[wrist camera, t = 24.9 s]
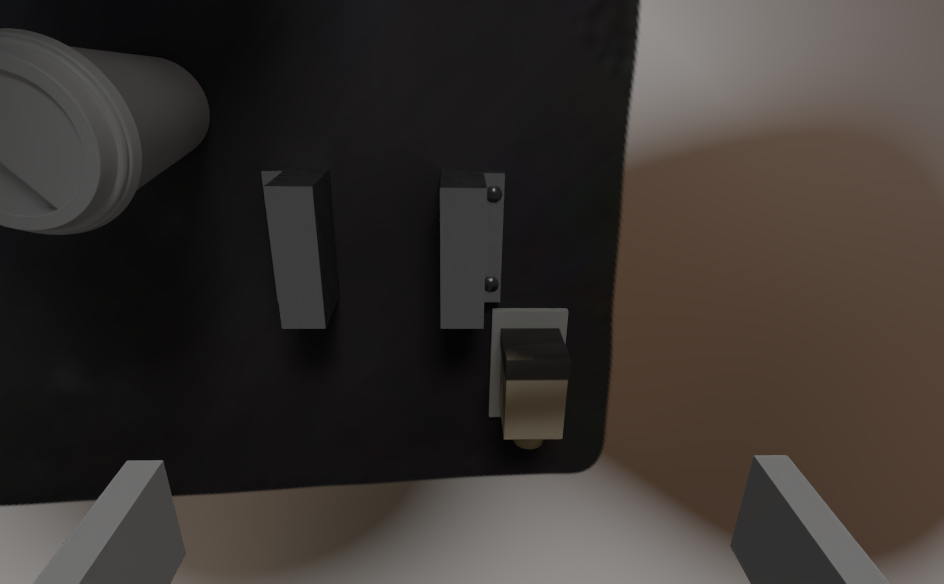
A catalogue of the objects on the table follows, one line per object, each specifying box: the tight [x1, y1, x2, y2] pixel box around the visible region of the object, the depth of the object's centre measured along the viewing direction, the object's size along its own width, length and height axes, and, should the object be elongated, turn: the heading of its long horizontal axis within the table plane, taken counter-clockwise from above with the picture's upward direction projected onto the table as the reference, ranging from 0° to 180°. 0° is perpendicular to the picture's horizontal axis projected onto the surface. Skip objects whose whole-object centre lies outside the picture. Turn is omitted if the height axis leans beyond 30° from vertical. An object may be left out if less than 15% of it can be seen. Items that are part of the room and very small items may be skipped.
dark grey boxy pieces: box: [261, 168, 505, 329], centre depth 41 cm, size 10×17×6 cm, turn 89°
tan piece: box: [499, 328, 571, 449], centre depth 46 cm, size 9×5×5 cm, turn 179°
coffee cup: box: [0, 28, 210, 235], centre depth 33 cm, size 10×10×15 cm
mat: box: [489, 308, 568, 417], centre depth 48 cm, size 10×6×1 cm, turn 179°
